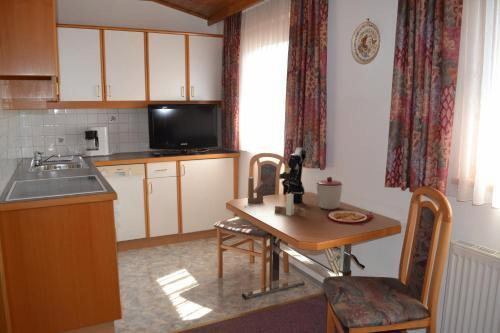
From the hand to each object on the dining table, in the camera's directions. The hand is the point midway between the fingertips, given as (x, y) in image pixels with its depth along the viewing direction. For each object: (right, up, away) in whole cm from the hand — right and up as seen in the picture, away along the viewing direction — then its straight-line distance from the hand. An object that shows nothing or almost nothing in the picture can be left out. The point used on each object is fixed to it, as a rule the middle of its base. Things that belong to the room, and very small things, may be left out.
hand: (286, 194), depth 266 cm
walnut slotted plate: (+1, -12, -11) cm, 16 cm away
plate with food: (+35, -14, -21) cm, 43 cm away
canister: (+29, -9, +6) cm, 31 cm away
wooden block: (-20, -7, +22) cm, 31 cm away
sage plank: (+1, -12, -11) cm, 16 cm away
